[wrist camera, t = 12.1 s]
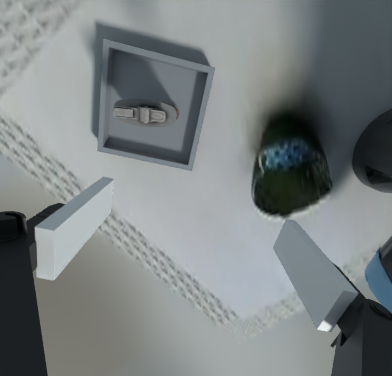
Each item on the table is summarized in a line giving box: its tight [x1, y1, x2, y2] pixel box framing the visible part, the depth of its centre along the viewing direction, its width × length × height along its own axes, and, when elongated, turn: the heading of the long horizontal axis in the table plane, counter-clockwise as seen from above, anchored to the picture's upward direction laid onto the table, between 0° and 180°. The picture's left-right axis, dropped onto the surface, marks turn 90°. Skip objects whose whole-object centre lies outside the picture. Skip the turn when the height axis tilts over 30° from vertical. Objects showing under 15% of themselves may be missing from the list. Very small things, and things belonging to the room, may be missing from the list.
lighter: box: [113, 99, 180, 127], centre depth 29 cm, size 8×3×10 cm, turn 84°
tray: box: [98, 39, 215, 171], centre depth 33 cm, size 16×16×3 cm
